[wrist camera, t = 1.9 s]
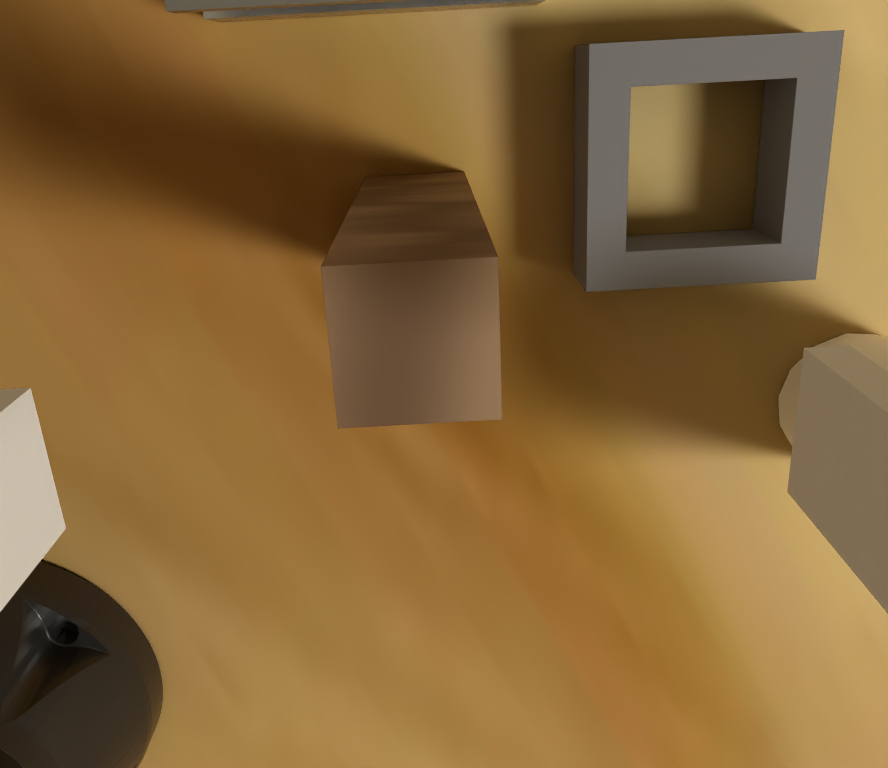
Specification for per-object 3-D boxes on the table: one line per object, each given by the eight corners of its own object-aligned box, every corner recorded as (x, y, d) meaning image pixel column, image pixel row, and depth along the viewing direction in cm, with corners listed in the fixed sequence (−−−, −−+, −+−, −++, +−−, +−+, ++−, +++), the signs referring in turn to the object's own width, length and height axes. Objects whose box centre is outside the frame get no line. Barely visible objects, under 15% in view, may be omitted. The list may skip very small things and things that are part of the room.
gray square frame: (573, 273, 35) (586, 292, 32) (575, 45, 32) (589, 44, 29) (784, 262, 35) (815, 279, 32) (807, 33, 32) (844, 30, 29)
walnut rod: (373, 273, 35) (337, 428, 20) (365, 176, 34) (320, 266, 19) (467, 267, 35) (502, 418, 20) (463, 171, 34) (498, 256, 19)
